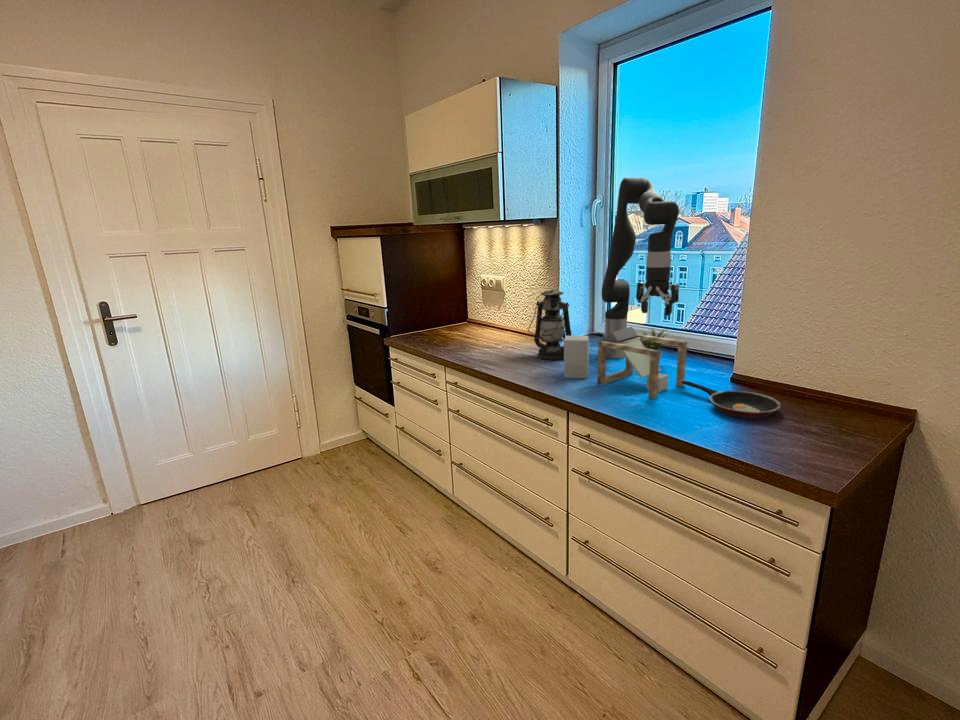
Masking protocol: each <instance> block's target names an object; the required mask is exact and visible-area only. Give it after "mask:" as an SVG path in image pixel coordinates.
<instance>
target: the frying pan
mask: <svg viewBox="0 0 960 720" xmlns="http://www.w3.org/2000/svg"><path fill="white" fill-rule="evenodd" d="M681 383H683V384H684V386H688V387H692V388H696V389H699V390H701V391H703V392H705V393H706V394H708V395H709V400H710V401H711V403H712V404H713V406H715V408H716V409H718V410H719V411H720V412H721V413H723V414H726V415H728V416H731V417H735V418H740V419H741V418H742V419H751V420H754V419H764V418H767V417H768V416H771V415H772V414H774V413H775V412H776V411H778V410H779V409H780V408H781V405H782V404H781V402H779V400H777V399H775V398H774V397H771V396H768V395H765V394H761V393H759V392H758V393H757V392H752V391H751V392H750V391H741V390H724V391H717V390H715V389H712V388H709V387H708V386H704V385H701V384H698V383H696V382H693V381H688V380H685V381H682V382H681Z"/></svg>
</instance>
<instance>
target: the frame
mask: <svg viewBox="0 0 960 720" xmlns="http://www.w3.org/2000/svg"><path fill="white" fill-rule="evenodd" d="M638 337H641V340H640V341H650V342H652V343H653V342H656V343H662V344H661V345H663V344H667V346H669V345H671V346H677V347H678V348H677V359H676V360H677V362H676V377H675V378H676V379H675V380H676V382H675V386H676V387H680V388H681V387H684V386H685V384H683V383H681V382H682V381H686V380H685V379H686V364H687V363H686V362H687V348H688V341H686V340H681V339H680V340H679V339H673V338H666V337H663V338H662V337H661V336H660V337H657V336H655V337H654V336H652V335H648V334H647V335H644V334H639V333H638V336H637V337H636V338H638ZM606 347H607V348H613V349H618V350H624V351H629V352H634V353H640V354H645V355H650V373H649V390H648V394H647V395H648V397H647V398H649V397H650V398H649V399H653V398H654V399H656V397H658V392H657V391H658V373H659V372H660V371H659V367H660V366H659V365H660V362H659V351H661V350H659V349H657V350H654V349H648V348H647V347H645V348H642V347H636V346H631V345H625V344H619V343H613V342H607V341H603V339H602V340H599V341H597V374H596V375H597V377H596V378H597V379H596V381H597V382H596V385H600V386H603V385H606V384H609V383H612V382H615V381H617V380H620V379H623V378H625V376H626V377H628V375H629V376H631V375H633V374H634V368H633V367H632V366H631V364H630V363H629V361H628V360H627V359H626V358H625V366H624V367H625V369H622V370H619V371H616V372H613V373H610V374H607V375H606V367H607V366H606V363H607V362H606V361H607V360H606V359H607V357H606ZM614 380H615V381H614Z"/></svg>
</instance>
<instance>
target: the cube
mask: <svg viewBox="0 0 960 720" xmlns="http://www.w3.org/2000/svg"><path fill="white" fill-rule="evenodd" d="M668 385H669V375H668V374H663V373H660V372H658V392H657V393H660V391H661V392H663V391H666V390H668ZM648 389H649V375H647V376H646V390H648ZM665 389H666V390H665ZM662 390H663V391H662Z"/></svg>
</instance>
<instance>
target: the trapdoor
mask: <svg viewBox="0 0 960 720" xmlns="http://www.w3.org/2000/svg"><path fill="white" fill-rule="evenodd" d="M637 333H638V332H637V331H636V330H635V329H634V328H633V327H632V326H629V327H627V328H625V329H621V330H618V331H614V332H611V333H610V334H609V335H608V336H607V337H606V338H605V339H604V341H607V342H613V343H619V344H625V345H631V346H636V347H642V348H646V346H645V345H643V344H642V340H641V337H638V338H636V337H637V336H638V334H639V333H638V334H637ZM609 349H611V348H609ZM621 351H622V353H623V354H624V356H625V357H624V358H625V360H626V359H627V360H628V361H629V363H630V364H631V366H632V367H633V371H634V372H635V373H636V374H637V375H638V377H639V378H640V379H643V378H645V377H647V375H649V373H650V355H645V354H640V353H634V352H629V351H624V350H621ZM661 371H662V368H661V367H660V366H659V371H658V372H661Z"/></svg>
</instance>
